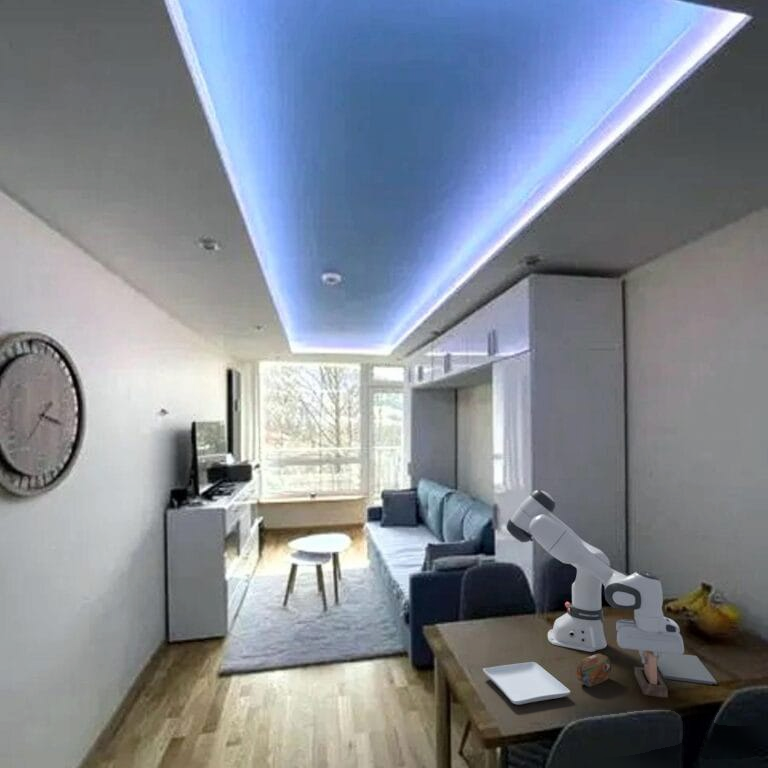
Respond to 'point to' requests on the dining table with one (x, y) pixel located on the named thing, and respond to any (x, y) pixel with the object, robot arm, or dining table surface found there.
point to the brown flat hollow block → (651, 689)
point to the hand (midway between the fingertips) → (650, 663)
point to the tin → (594, 669)
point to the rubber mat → (684, 668)
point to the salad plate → (526, 682)
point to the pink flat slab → (651, 667)
